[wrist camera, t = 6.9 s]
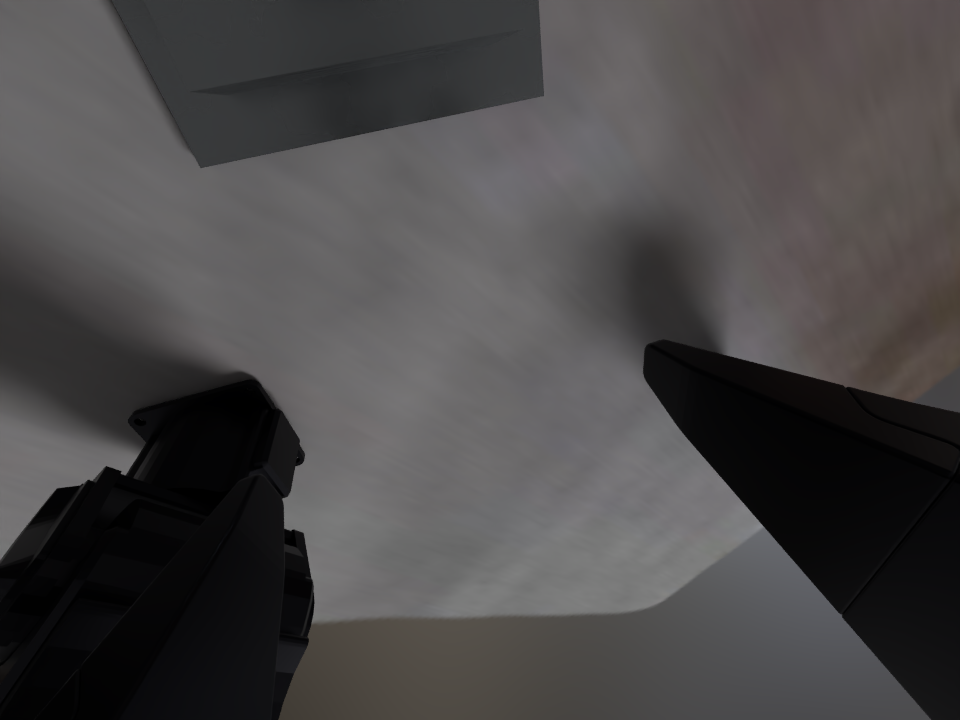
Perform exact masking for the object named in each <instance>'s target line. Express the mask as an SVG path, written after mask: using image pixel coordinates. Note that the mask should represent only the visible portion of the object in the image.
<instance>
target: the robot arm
mask: <svg viewBox="0 0 960 720" xmlns="http://www.w3.org/2000/svg"><path fill="white" fill-rule="evenodd" d="M643 374H644V378H645V380H646V382H647V383H648V385H649V386H650V388H651V389H652V390H653V392H654V393H655V395H656V396H657V398H658V399H659V400H660V402H661V403H662V405H663V406H664V408H665V409H666V411H667V412H668V413H669V415H670V416H671V418H672V419H673V421H674V422H675V423H676V425H677V426H678V428H679V429H680V430H681V431H682V433H683V434H684V435H685V436H686V437H687V439H688V440H689V441H690V442H691V443H692V444H693V446H694V447H695V448H696V449H697V450H698V451H699V453H700V454H701V455H702V456H703V457H704V458H705V459H706V461H707V462H708V463H709V464H710V465H711V466H712V467H713V469H714V470H715V471H716V472H717V473H718V474H719V476H720V477H721V478H722V479H723V480H724V481H725V482H726V484H727V485H728V486H729V487H730V488H731V489H732V491H733V492H734V493H735V494H736V495H737V496H738V497H739V499H740V500H741V501H742V502H743V503H744V504H745V505H746V507H747V508H748V509H749V510H750V511H751V512H752V514H753V515H754V516H755V517H756V518H757V519H758V520H759V522H760V523H761V524H762V525H763V526H764V527H765V529H766V530H767V531H768V532H769V533H770V534H771V535H772V536H773V538H774V539H775V540H776V541H777V542H778V543H779V545H780V546H781V547H782V548H783V549H784V550H785V552H786V553H787V554H788V555H789V556H790V557H791V558H792V559H793V561H794V562H795V563H796V564H797V565H798V566H799V567H800V569H801V570H802V571H803V572H804V573H805V574H806V576H807V577H808V578H809V579H810V580H811V581H812V583H813V584H814V585H815V586H816V587H817V588H818V590H819V591H820V592H821V593H822V594H823V595H824V596H825V598H826V599H827V600H828V601H829V602H830V603H831V605H832V606H833V607H834V608H835V609H836V610H837V611H838V613H840V614H842V618H843V619H844V620H845V621H846V622H847V623H848V624H849V626H850V627H851V628H852V629H853V630H854V631H855V633H856V634H857V635H858V636H859V637H860V638H861V639H862V641H863V642H864V643H865V644H866V645H867V646H868V647H869V649H870V650H871V651H872V652H873V653H874V654H875V656H876V657H877V658H878V659H879V660H880V661H881V663H883V665H884V666H885V667H886V668H887V669H888V670H889V672H890V673H891V674H892V675H893V676H894V677H895V678H896V680H897V681H898V682H899V683H900V684H901V685H902V687H903V688H904V689H905V690H906V691H907V692H908V693H909V695H910V696H911V697H912V698H913V699H914V700H915V701H916V703H917V704H918V705H919V706H920V707H921V708H922V710H923V711H924V712H925V713H926V714H927V715H928V716H929V718H930V719H931V720H960V413H958V412H954V411H949V410H944V409H940V408H935V407H930V406H926V405H921V404H916V403H912V402H908V401H904V400H899V399H895V398H891V397H887V396H883V395H879V394H875V393H871V392H867V391H863V390H859V389H855V388H852V387H846V388H845V387H844V386H843V385H840V384H836V383H832V382H828V381H824V380H820V379H816V378H812V377H808V376H805V375H801V374H797V373H793V372H789V371H785V370H781V369H777V368H773V367H769V366H766V365H762V364H758V363H754V362H750V361H746V360H742V359H738V358H734V357H730V356H727V355H723V354H719V353H715V352H711V351H707V350H703V349H699V348H695V347H691V346H688V345H684V344H680V343H676V342H672V341H668V340H658V341H655V342H652V343H649V344H648V345H646V347H645V350H644V366H643ZM247 388H252V389H254V390H255V391H249V390H248V389H247ZM138 418H141V419H144V420H145V421H142V420H140V419H138ZM128 423H129V424H130V426H131V427H132V428H133V429H134V430H135V431H136V432H137V433H138V434H139V435H140V436H141V437H142V438H143V439H144V440H145V441H146V442H147V443H146V444H145V446H144V448H143V449H142V451H141V452H140V454H139V455H138V457H137V458H136V460H135V462H134V463H133V465H132V466H131V468H130V469H129V471H128V473H127V474H126V476H125V475H122V474H121V472H122V471H119V470H116V469H113V468H110V467H107V466H106V467H105V468H104V469H103V470H102V471H101V472H100V473H99V474H98V475H97V477H96V478H95V479H94V480H93V481H90V480H87V481H86V482H85V483H84V484H81V485H80V486H73V487H65V488H57V489H56V490H55V492H54V493H53V494H52V495H51V496H50V497H49V498H48V500H47V501H46V502H45V503H44V505H43V506H42V507H41V508H40V510H39V511H38V512H37V513H36V515H35V516H34V517H33V518H32V520H31V521H30V522H29V523H28V525H27V526H26V527H25V528H24V530H23V531H22V532H21V534H20V535H19V536H18V537H17V539H16V540H15V541H14V543H13V544H12V545H11V547H10V548H9V549H8V551H7V552H6V553H5V555H4V556H3V557H2V559H1V560H0V720H278V719H279V715H280V712H281V708H282V705H283V702H284V699H285V696H286V694H287V691H288V688H289V686H290V683H291V680H292V677H293V675H294V672H295V670H296V668H297V666H298V664H299V662H300V660H301V658H302V656H303V654H304V652H305V650H306V648H307V646H308V642H309V639H308V637H307V636H308V633H309V630H310V627H311V622H312V618H313V612H314V592H313V590H314V585H313V581H312V579H311V574H310V568H309V562H308V556H307V550H306V544H305V538H304V533H302V532H299V531H297V530H292V531H290V530H287V529H284V505H283V500H282V498H285V497H288V495H289V493H290V491H291V486H292V481H293V475H294V470H295V466H298V465H300V464H302V463H303V462H304V458H305V453H304V451H303V450H302V448H301V447H300V445H299V443H300V439H299V438H298V436H297V434H296V433H295V431H294V430H293V428H292V427H291V425H290V423H289V422H288V420H287V419H286V417H285V415H284V414H283V412H282V411H281V410H279V409H276V407H275V406H274V404H273V403H272V401H271V399H270V398H269V396H268V395H267V393H266V392H265V390H264V388H263V387H262V385H261V384H260V383H259V382H257V381H255V380H246V381H242V382H238V383H235V384H231V385H227V386H224V387H220V388H217V389H213V390H209V391H206V392H202V393H198V394H195V395H191V396H187V397H184V398H180V399H176V400H173V401H169V402H165V403H162V404H158V405H154V406H151V407H147V408H143V409H140V410H137V411H135V412H133V414H132V415H131V416H130V418H129V419H128ZM297 457H298V458H297Z"/></svg>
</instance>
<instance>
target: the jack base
mask: <svg viewBox="0 0 960 720" xmlns="http://www.w3.org/2000/svg"><path fill="white" fill-rule="evenodd" d="M112 2H113V4H114V6H115V8H116V9H117V11H118V13H119V15H120V17H121V19H122V21H123V23H124V25H125V26H126V28H127V30H128V32H129V34H130V36H131V38H132V40H133V42H134V43H135V45H136V47H137V49H138V51H139V53H140V55H141V57H142V59H143V60H144V62H145V64H146V66H147V68H148V70H149V72H150V74H151V75H152V77H153V79H154V81H155V83H156V85H157V87H158V89H159V91H160V92H161V94H162V96H163V98H164V100H165V102H166V104H167V106H168V108H169V109H170V111H171V113H172V115H173V117H174V119H175V121H176V123H177V125H178V126H179V128H180V130H181V132H182V134H183V136H184V138H185V140H186V141H187V143H188V145H189V147H190V149H191V151H192V153H193V155H194V157H195V158H196V160H197V162H198V164H199V166H200V168H203V167H208V166H213V165H218V164H222V163H227V162H232V161H237V160H241V159H246V158H251V157H255V156H260V155H265V154H270V153H274V152H279V151H284V150H289V149H293V148H298V147H303V146H308V145H312V144H317V143H322V142H327V141H331V140H336V139H341V138H346V137H350V136H355V135H360V134H365V133H369V132H374V131H379V130H384V129H388V128H393V127H398V126H403V125H407V124H412V123H417V122H422V121H426V120H431V119H436V118H441V117H445V116H450V115H455V114H460V113H464V112H469V111H474V110H479V109H483V108H488V107H493V106H498V105H502V104H507V103H512V102H517V101H521V100H526V99H531V98H536V97H540V96H544V89H543V71H542V54H541V36H540V19H539V1H538V0H112Z"/></svg>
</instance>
